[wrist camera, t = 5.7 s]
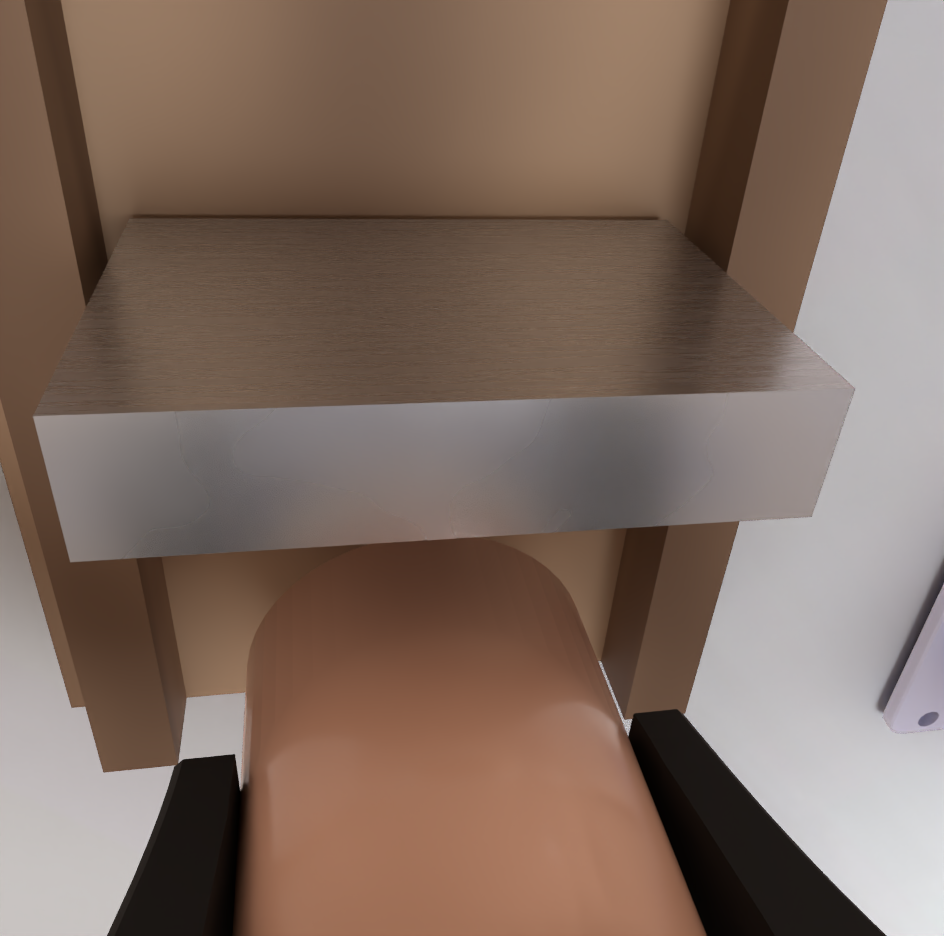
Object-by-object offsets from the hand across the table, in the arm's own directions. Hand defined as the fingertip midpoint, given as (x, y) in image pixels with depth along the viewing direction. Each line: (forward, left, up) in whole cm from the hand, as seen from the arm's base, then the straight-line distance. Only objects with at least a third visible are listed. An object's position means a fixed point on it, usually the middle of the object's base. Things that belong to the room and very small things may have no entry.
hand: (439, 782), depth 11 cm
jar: (0, 0, -2) cm, 2 cm away
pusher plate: (0, -5, -4) cm, 7 cm away
